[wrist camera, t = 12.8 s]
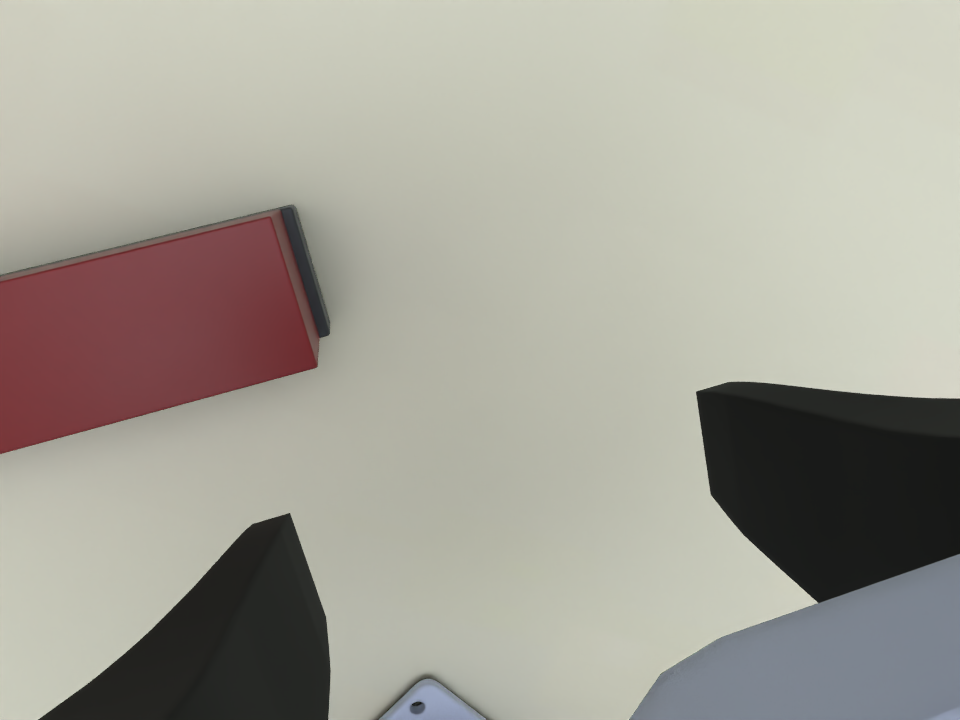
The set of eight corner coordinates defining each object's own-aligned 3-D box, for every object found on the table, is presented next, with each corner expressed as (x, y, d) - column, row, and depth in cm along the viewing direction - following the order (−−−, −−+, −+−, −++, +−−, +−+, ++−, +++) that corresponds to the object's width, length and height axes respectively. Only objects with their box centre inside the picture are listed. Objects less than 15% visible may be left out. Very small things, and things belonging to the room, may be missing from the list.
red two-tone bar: (294, 202, 20) (280, 212, 15) (331, 326, 21) (331, 377, 16) (-206, 322, 18) (-424, 382, 13) (-137, 450, 19) (-313, 554, 14)
